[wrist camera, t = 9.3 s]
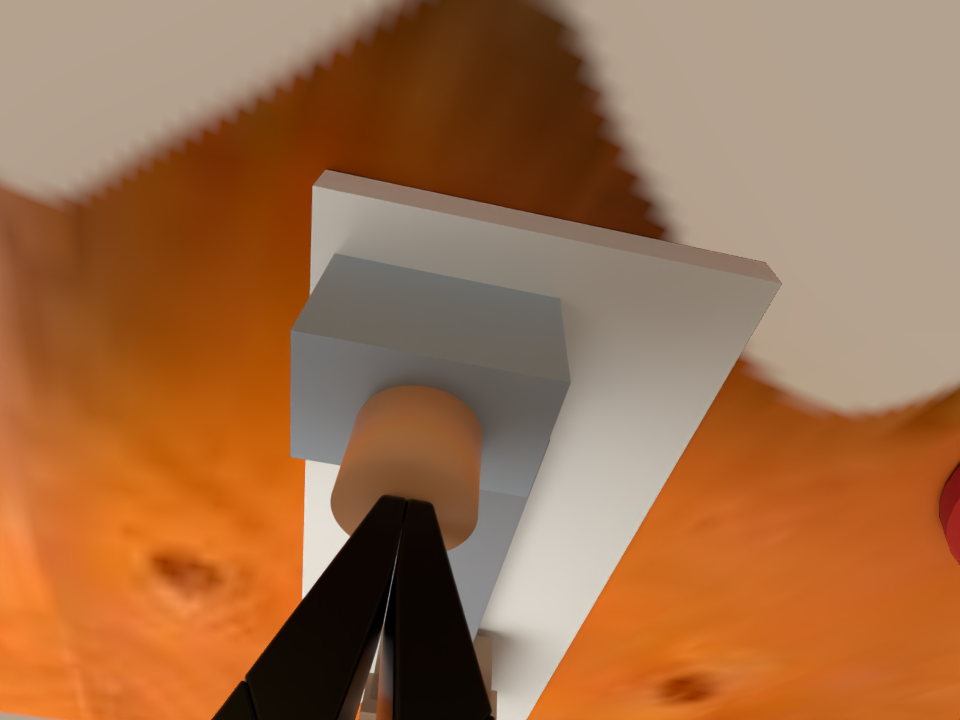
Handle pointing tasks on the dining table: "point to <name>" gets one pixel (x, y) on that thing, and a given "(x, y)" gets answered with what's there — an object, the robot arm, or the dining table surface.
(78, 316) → the dining table surface
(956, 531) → the canned food
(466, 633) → the robot arm
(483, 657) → the carriage
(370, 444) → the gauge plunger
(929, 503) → the dining table surface
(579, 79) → the dining table surface
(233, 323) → the dining table surface
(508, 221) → the plate
